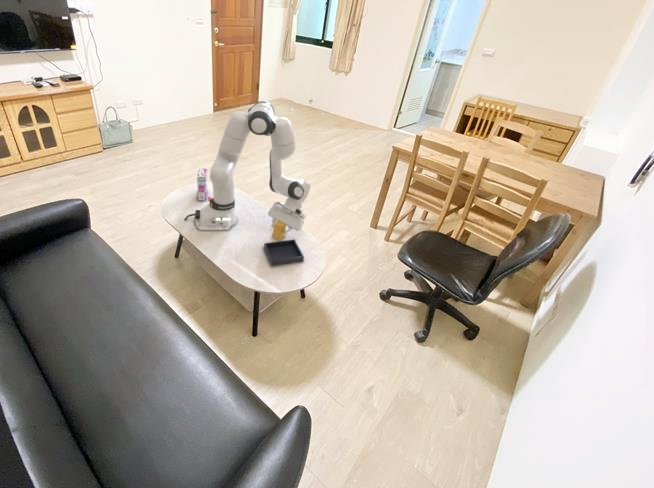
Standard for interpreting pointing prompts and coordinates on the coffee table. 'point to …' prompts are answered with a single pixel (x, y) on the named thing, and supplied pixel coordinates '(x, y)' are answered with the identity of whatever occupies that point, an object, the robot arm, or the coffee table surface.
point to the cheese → (279, 230)
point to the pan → (283, 252)
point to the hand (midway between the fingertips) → (278, 230)
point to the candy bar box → (202, 184)
